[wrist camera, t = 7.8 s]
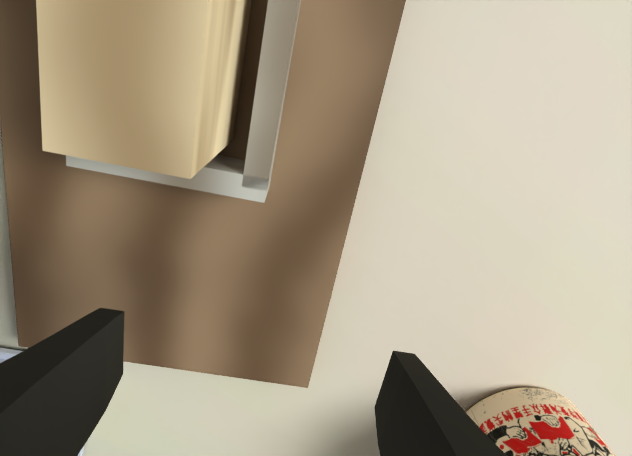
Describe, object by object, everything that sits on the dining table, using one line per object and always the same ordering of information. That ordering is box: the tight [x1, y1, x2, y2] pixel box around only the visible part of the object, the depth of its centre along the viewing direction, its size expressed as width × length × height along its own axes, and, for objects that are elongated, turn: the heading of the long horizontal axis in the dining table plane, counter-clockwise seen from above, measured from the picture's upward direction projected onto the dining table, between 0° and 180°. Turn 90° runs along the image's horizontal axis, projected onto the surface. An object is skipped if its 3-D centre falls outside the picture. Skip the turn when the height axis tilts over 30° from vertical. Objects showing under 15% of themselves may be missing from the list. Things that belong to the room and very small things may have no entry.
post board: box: [0, 0, 406, 388], centre depth 15 cm, size 16×28×7 cm, turn 168°
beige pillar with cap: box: [36, 0, 252, 179], centre depth 13 cm, size 4×8×7 cm, turn 168°
